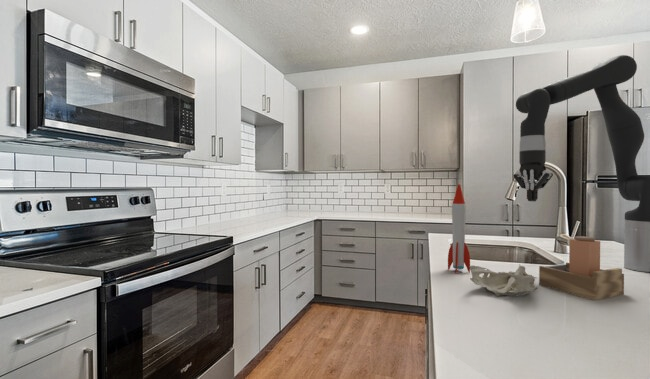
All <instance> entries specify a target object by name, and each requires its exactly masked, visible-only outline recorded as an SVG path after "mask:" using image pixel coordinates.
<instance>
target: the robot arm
mask: <svg viewBox="0 0 650 379" xmlns="http://www.w3.org/2000/svg"><path fill="white" fill-rule="evenodd" d="M637 68H638V65H637V62H636V60H635V59H634V58H633V57H632V56H630V55H626V54H625V55H624V54H621V55H617V56H613V57H610V58H608V59H606V60H602V61H601V62H598V63H595V64H594V65H593V67H592V68H591V70H588V71H585V72H581V73H579V74H576V75H571V76H568V77H565V78H562V79H559V80H558V81H555V82H551V83H550V84H547V85H545V86H543V87H538V88H534V89H531V90H529V91H527V92H524V93H522V94H521V95H519V96H518V97H517V99H516V102H515V108H516V110H517V111H518V112H520V113H521V114H527V116H526V118H525V119H523V120H522V121H521V122H520V126H519V127H520V135H519V136H520V138H519V139H520V140H519V144H518V145H519V150H518V151H519V153H518V154H519V164H520V167H519V170H518V172H517V173H514V174H513V176H512V177H513V178H514V179H515V181H516V182H517V183H518V185H519V187H520V188H521V189H525V190H526V200H527V201H528V202H536V201H537V200H538V196H539V195H538V194H539V192H538V191H539V190H541V189H544V188H545V186H546V185H547V184H548V183H549V181H551V179H552V178H553V175H554V173H553V172H549V171H547V167H546V165H545V164H546V160H547V159H546V153H547V152H546V149H547V148H546V147H547V146H546V144H547V143H546V135H545V134H546V126H545V123H546V120H547V117H548V114H549V111H550V110H549V109H550V106H552V105H555V104H559V103H562V102H565V101H567V100H569V99H572V98H574V97H577V96H580V95H582V94H583V93H586V92H589V91H592V90H594V92H595V95H596V98H597V100H598V103H599V107H600V109H601V112H602V116H603V119H604V122H605V130H606V133H607V137H608V140H609V144H610V147H611V151H612V156H613V160H614V166H615V167H614V168H615V172H616V173H615V175H616V181H617V188H618V192H619V194H620V196H621V197H622V198H623V199H625V200H626V201H631V202H639V204H638V206H637V207H636V208H634V209H631V210H628V211H626V212H625V213H624V239H623V240H624V242H623V244H624V246H623V252H624V253H623V267H624V268H625V269H628V270H632V271H637V272H644V273H645V272H646V273H650V174H638V172H637V168H636V167H637V166H636V159H637V156H638V153H639V152H640V150H641V149H642V148H641V147H642V145H643V144H644V140H645V132H644V128H643V123H642V119H641V118H640V116H639V115H638V114H637V112H636V111H634V110H633V108H632V107H630V106H629V105H628V104H627V103H626V102H624V101H623V99H622V97H621V95H620V93H619V90H618V85H620V84H623V83H625V82H628V81H629V80H631V79H632V78H633V77H634V76H635V75H636V73H637Z"/></svg>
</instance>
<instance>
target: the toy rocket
mask: <svg viewBox="0 0 650 379" xmlns="http://www.w3.org/2000/svg"><path fill="white" fill-rule="evenodd" d="M461 187H462V186H461V184H460V183H458V184H457V187H456V190H455V194H454V198H453V201H452V204H451V220H452V221H451V224H452V225H451V226H452V243H451V245H450V247H449V249H448V254H447V270H450V268H451V266H452V268H453V269H454V270H455V271H454V273H455V274H458V270H463V269H465V267H466V270H467V272H468V273H471V270H470V266H471V255H470V252H469V248H468V246H467V244H466V242H465V241H466V240H465V239H466V237H465V236H466V214H467V213H466V208H467V207H466V206H467V205H466V202H465V199H464V195H463V191H462V188H461Z"/></svg>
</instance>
